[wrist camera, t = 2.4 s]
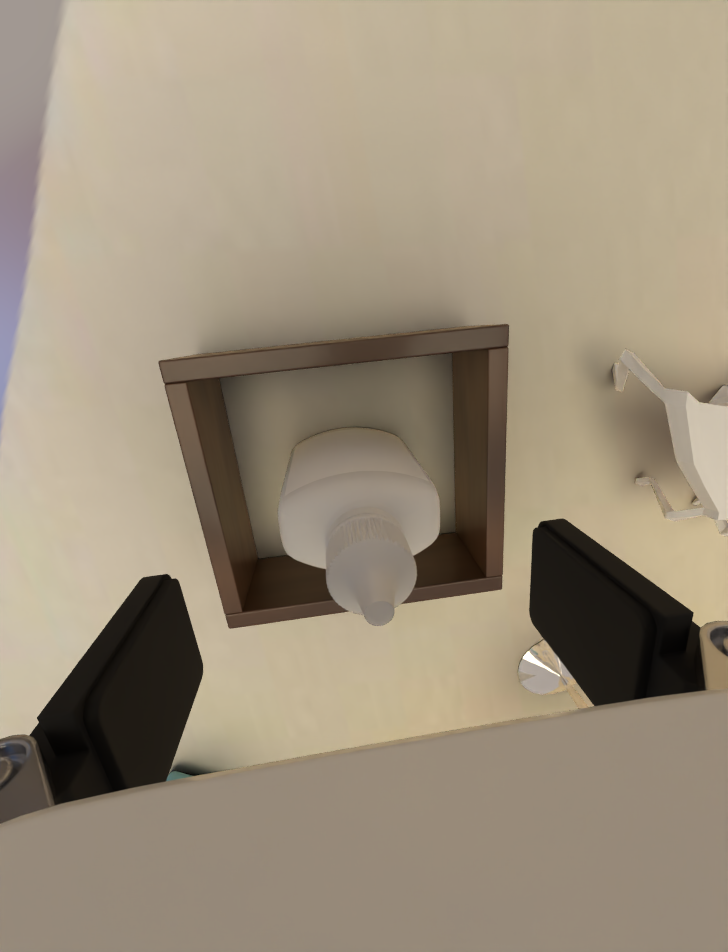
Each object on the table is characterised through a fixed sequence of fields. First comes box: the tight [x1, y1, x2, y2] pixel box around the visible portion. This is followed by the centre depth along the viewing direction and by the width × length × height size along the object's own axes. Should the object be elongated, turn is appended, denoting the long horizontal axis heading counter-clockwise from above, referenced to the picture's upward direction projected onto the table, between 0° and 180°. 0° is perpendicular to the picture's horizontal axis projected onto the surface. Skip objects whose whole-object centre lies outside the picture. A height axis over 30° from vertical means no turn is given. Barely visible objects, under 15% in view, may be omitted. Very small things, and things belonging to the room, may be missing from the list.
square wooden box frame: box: [159, 324, 509, 629], centre depth 18 cm, size 12×13×4 cm
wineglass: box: [518, 640, 588, 709], centre depth 21 cm, size 7×7×12 cm
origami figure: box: [612, 348, 728, 536], centre depth 19 cm, size 12×8×5 cm
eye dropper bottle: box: [278, 427, 440, 626], centre depth 15 cm, size 4×6×12 cm
